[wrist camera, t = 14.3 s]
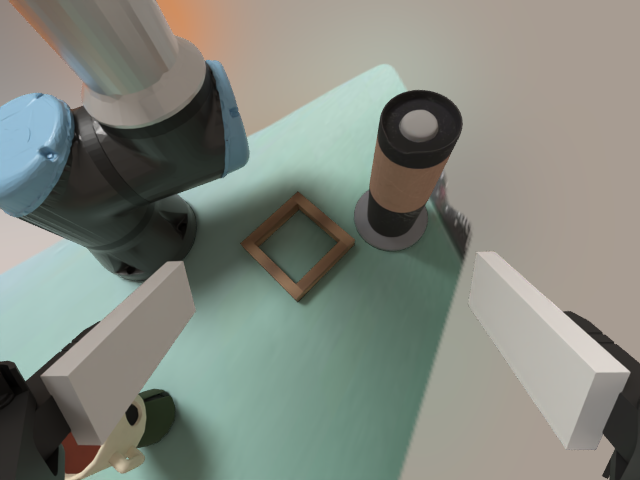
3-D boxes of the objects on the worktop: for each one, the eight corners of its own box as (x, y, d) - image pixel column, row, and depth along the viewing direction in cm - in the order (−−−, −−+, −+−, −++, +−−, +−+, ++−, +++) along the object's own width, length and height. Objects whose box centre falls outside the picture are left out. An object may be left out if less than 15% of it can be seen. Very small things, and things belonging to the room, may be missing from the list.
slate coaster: (339, 219, 48) (339, 217, 47) (385, 175, 50) (386, 172, 50) (394, 265, 44) (395, 264, 44) (441, 215, 47) (442, 213, 46)
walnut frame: (244, 248, 47) (240, 243, 45) (299, 197, 50) (297, 191, 48) (297, 302, 44) (295, 299, 42) (354, 244, 46) (354, 239, 44)
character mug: (203, 415, 39) (139, 438, 27) (165, 471, 37) (78, 523, 25) (143, 365, 42) (62, 366, 30) (105, 415, 40) (2, 437, 28)
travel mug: (410, 191, 48) (452, 83, 29) (421, 236, 45) (475, 147, 27) (361, 197, 48) (373, 93, 30) (369, 242, 45) (386, 158, 27)
